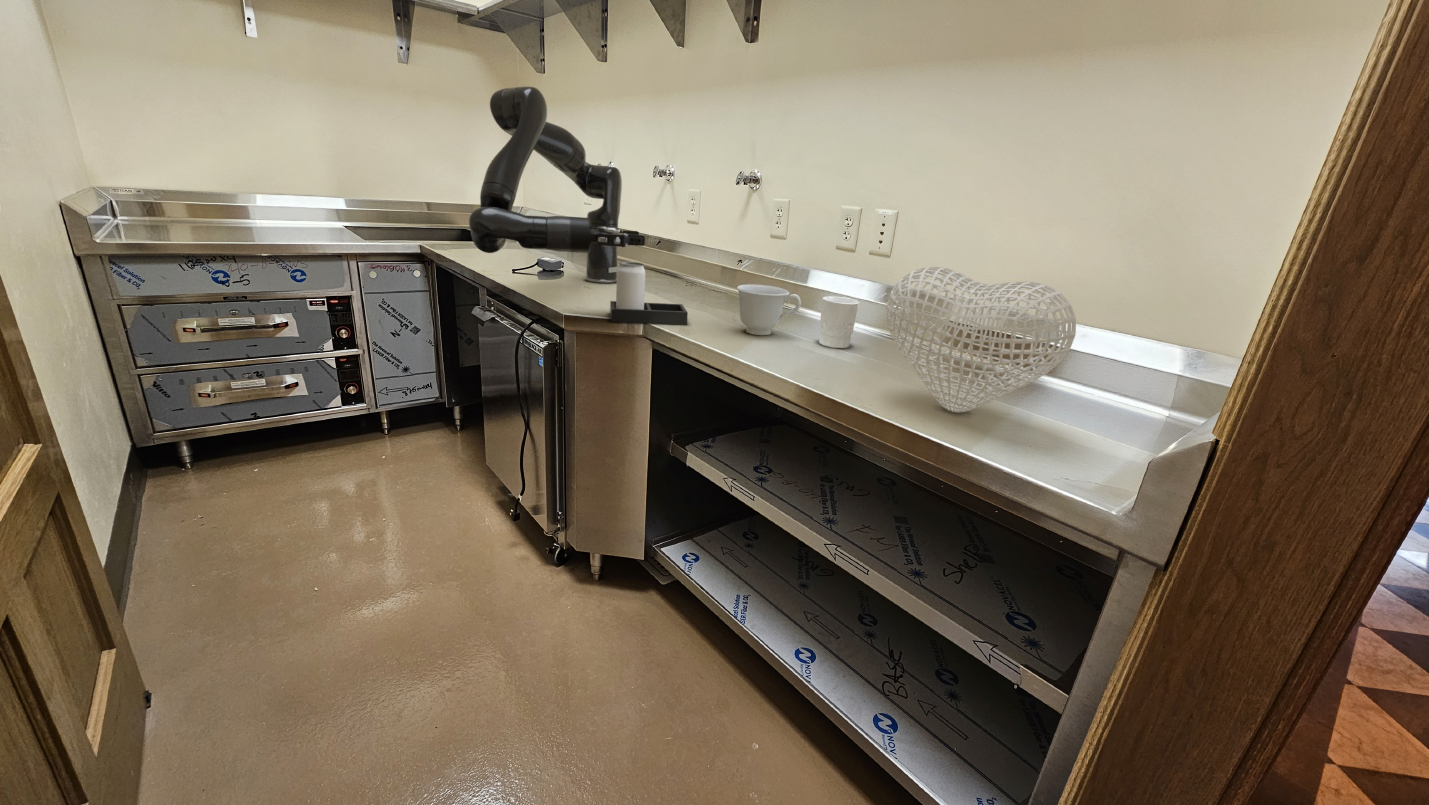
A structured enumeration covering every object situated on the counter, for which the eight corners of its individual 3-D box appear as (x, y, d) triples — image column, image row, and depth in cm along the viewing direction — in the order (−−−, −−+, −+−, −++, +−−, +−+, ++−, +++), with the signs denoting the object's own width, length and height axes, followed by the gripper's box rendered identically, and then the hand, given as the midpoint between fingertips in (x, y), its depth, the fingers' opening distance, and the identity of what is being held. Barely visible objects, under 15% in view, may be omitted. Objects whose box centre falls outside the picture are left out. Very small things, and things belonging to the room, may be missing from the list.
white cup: (858, 346, 136) (865, 301, 133) (839, 351, 130) (846, 304, 127) (828, 338, 141) (835, 295, 137) (809, 342, 135) (815, 298, 132)
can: (612, 312, 144) (613, 261, 140) (638, 312, 147) (640, 261, 143) (620, 318, 139) (621, 265, 135) (647, 318, 142) (649, 266, 137)
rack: (610, 313, 146) (610, 300, 145) (681, 316, 150) (682, 304, 149) (611, 322, 138) (611, 309, 137) (686, 324, 142) (687, 312, 141)
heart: (1058, 427, 96) (1100, 287, 88) (1026, 452, 85) (1071, 295, 78) (897, 380, 114) (920, 259, 106) (853, 395, 103) (876, 262, 95)
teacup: (790, 344, 133) (796, 298, 129) (725, 333, 137) (729, 289, 133) (801, 333, 144) (806, 290, 140) (740, 323, 148) (745, 282, 144)
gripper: (569, 219, 125) (647, 224, 130) (566, 213, 138) (637, 218, 143) (570, 256, 128) (646, 259, 132) (566, 247, 141) (636, 250, 145)
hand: (641, 238), depth 137 cm, fingers open, 8 cm apart
